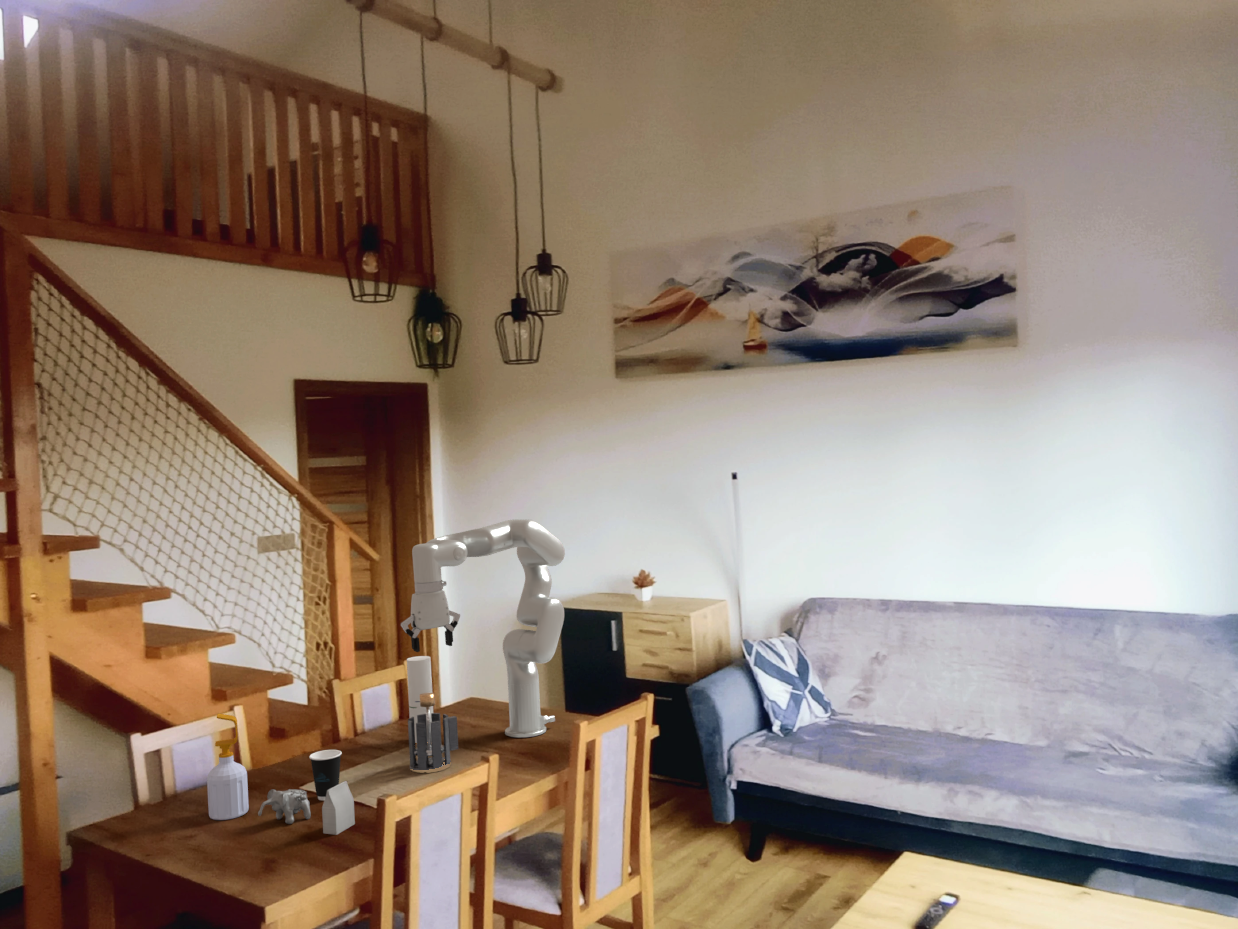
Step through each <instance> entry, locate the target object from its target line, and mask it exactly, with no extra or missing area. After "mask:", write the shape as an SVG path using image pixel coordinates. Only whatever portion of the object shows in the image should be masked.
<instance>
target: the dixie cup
mask: <svg viewBox="0 0 1238 929" xmlns="http://www.w3.org/2000/svg"><path fill="white" fill-rule="evenodd" d="M342 754H343V753H342V751H341V750H338V749H324V750H319V751H315V752H313V753H310V755H309V756H308V757H309V759H310V763H311V769H312V770H311V771H312V777H313V781H314V783H313V784H314V789H315V794H316V796H317V799H318V800H319V801H325V798H326V794H327V790H329V789H331V788H332V787H334V786H336V785H338V784H340V773H341V772H340V770H341V758H342V757H341V756H342Z"/></svg>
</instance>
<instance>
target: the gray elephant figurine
mask: <svg viewBox="0 0 1238 929" xmlns="http://www.w3.org/2000/svg"><path fill="white" fill-rule="evenodd" d="M307 793H308V792H307V791H305V790H303V789H294V788H293V789H291V788H289V789H287V790H276V789H273V788H272V789H270V790H269V791H268V792H267V796H266V798H267V800H265V801H263V802H262V803H261V805H260V807H259V808H260V809H259V810H258V812H257V815H258V816H259V817H261V816H262V814H263V811H264V810H263V809H264V808H265V806H269V805H270V806H271V809H272V811H274V812H275V818H276V820H281V819H282V818H283V815H285V821H284V822H285V823H286V824H288V825H291V824H293V823H294V822H295V817H294V814H298V812H299V813H300V812H301V810H302V811H303V816H304V819H306V820H309V819H311V806H310V800H308V794H307Z"/></svg>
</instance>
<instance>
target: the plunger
mask: <svg viewBox="0 0 1238 929" xmlns="http://www.w3.org/2000/svg"><path fill="white" fill-rule="evenodd" d="M435 700H436V699H435V692H432V693H423V694H420V706H421V707H426V722H427V742H428V743H427V745H426V753H427V756H428V757H432V743H431V728H430V708H429V707H431V706H433V707H434V706H435V705H436V702H435ZM415 748H416V749H415V755H416V756H417V747H415ZM441 753H442V754H444V744H442V745H441Z"/></svg>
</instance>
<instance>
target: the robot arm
mask: <svg viewBox="0 0 1238 929" xmlns="http://www.w3.org/2000/svg"><path fill="white" fill-rule="evenodd" d="M514 548H516V556H517V558H518V560H519V562H520V564H521V567H522V569H523V571H524V578H525V579H524V584H523V588H522V592H521V593H520V594H521V595H520V599H519V602H518V607H517V609H516V619H517V621H518V623H519V624H521V625H523V626H526V627H533V628H536V629H535V630H532V629H522V628H521V629H520V628H518V629H513V630H510V631H509V632H508V633H506V635H505V636H504V639H503V640H502V651H503V656H504V660H505V664H506V672H507V674H506V675H507V692H508V695H507V696H508V713H509V716H508V717H509V726H507V727H506V729H504V734H505V736H508V737H510V738H521V739H522V738H531V737H537V736H540V735H542V734H545V733H546V731H547V726H546V724H547V723H552V722H553V723H554V722H556V718H555V717H556V716H555V714H554V715H549V716H548V715H542V714H541V701H540V699H541V698H540V697H541V696H540V679H539V678H540V677H539V671H538V667H537V665H536V664H546V663H548V662H550V661H551V660H552V659H553V657H554V656H555V653H556V651H557V648H558V644H559V639H560V636H561V633H562V629H563V627H564V626H563V625H564V621H565V608H564V605H563V603H562V601H561V600H559V599H558V598H556V597H553V596H550V594H551V589H552V584H553V581H552V575H551V573H550V570H549V568H548V567H554V566H557V565H559V564H562V562H563V560H564V558H565V555H566V553H565V547H564V544H563V543H562V541H561V540H560V539H559V538H558V537H556V536H555V535H554V534H553V533H551V532H550V531H549V530H548V529H546V528H545V527H544V526H543V525H541V524H540V523H538V522H537V521H535V520H533V519H509V520H505V521H501V522H496V523H493V524H491V525H487V526H483V527H482V526H481V527H479V528H474V529H469V530H465V531H461V532H455V533H450V534H445V535H443V536H439V537H435V538H432V539H430V540H428V541H427V542H426V543H419V544H416V545H414V546H413V547H412V549H411V550H412V551H411V552H412V553H411V554H412V568H413V581H414V582H413V583H414V593H412V595H411V602H410V603H411V605H410V616H409V617H407V618H406V619H405V620H403V621H402V622H400V627H401V628H402V630H403V631H404V633H405V634H407V635H408V636H409V637H410V640H411V648H412V650H413V651H414V652H416V653H419V652H420V651H421V649H420V638H419V637H418V635H419V634H420V633H421V631H425V630H431V629H437V628H442V627H444V629H445V631H444V639H445V640H444V641H445V645H446V646H449V647H452V646H453V643H454V635H453V634H454V631H455V628H456V627H457V626H458V624H459V620H460V618H461V614H460V613H458V612H454V611H452V610H450V609H449V603H448V598H447V595H446V591H445V590H444V587H447V581H446V580H443V579H442V567H457V566H458V567H459V566H460V565H461V564H463V563H464V562H465V561H466V559H467V558H480V557H488V556H491V555H494V554H498V553H501V552H503V551H507V550H511V549H514ZM450 616H451V617H453V619H452V621H451V622H450V620H451V617H450ZM409 625H411V628H412V629H410V628H409Z"/></svg>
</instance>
